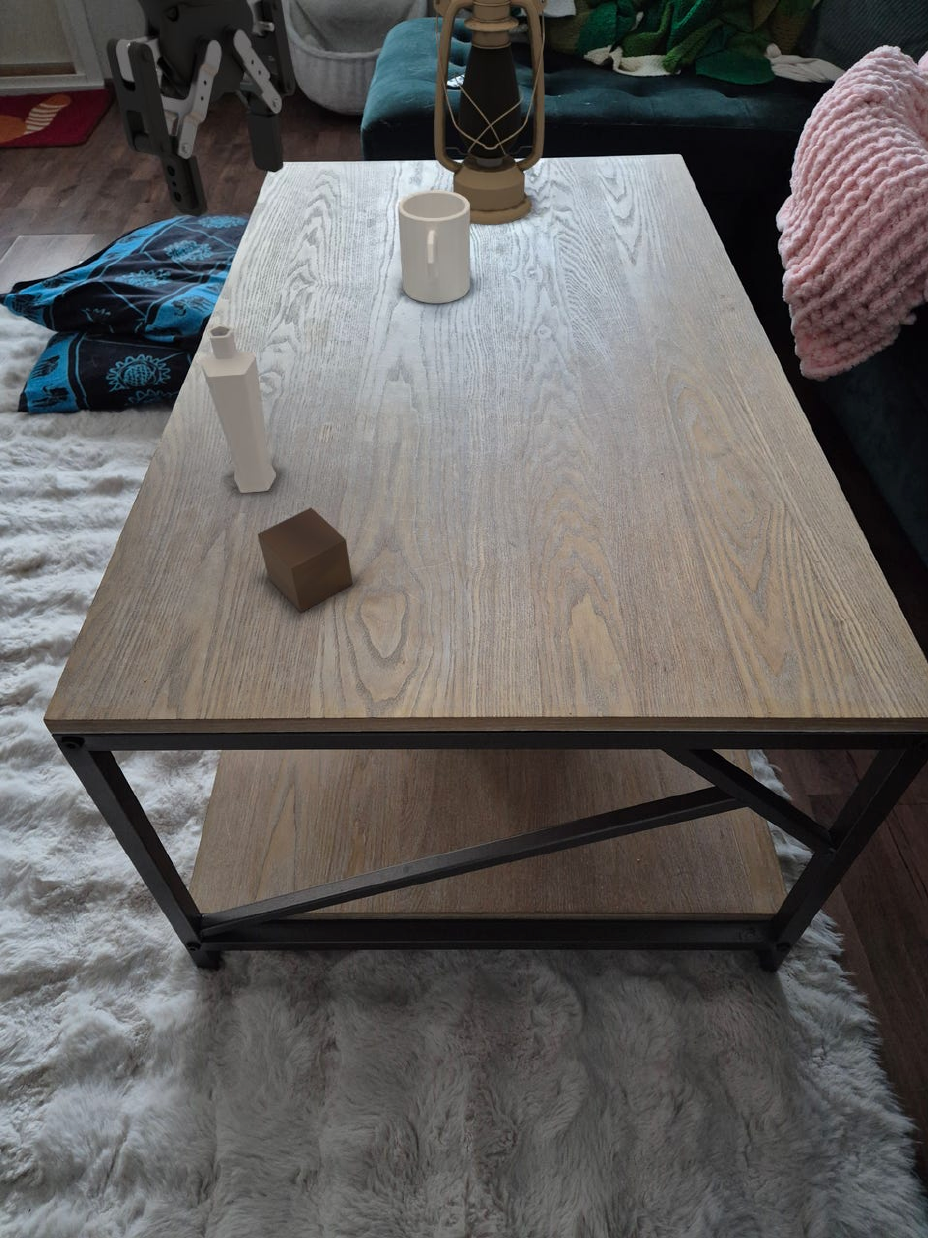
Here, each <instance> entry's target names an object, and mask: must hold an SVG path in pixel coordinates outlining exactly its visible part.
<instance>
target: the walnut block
mask: <svg viewBox="0 0 928 1238" xmlns="http://www.w3.org/2000/svg"><path fill="white" fill-rule="evenodd" d="M257 537H258V541H259V546H260V549H261V553H262V558H263V563H264V566H265V570H266V574H267V579H268V580H269V581H270V582H271V583H272V584H273V585H274V586H275V587H276V588H277V589H278V590H279V591H280V592H281V594H282V595H284V597H285V598H286V599H287V600H288V601H289V602H290V603H291V604H292V605H293V606H294V607H295V609H297V610H298V611H299V612H300V613H304V611H307V610H308V609H310V608H312V607H314V606H316V605H318V604H320V603H321V602H323V601H325V600H326V599H328V598H330V597H332V596H334V595H335V594H337V593H339V592H341V591H342V590H344V589H346V588H349V587H350V586H351V585H353V578H352V577H353V576H352V571H351V565H350V557H349V551H348V544H347V539H346V538H345V537H344V536H343V535H342V534H341V533H340V532H338V530H336V529H335V528H334V527H333V526H332V525H331V524H330V523H329V522H328V521H327V520H325V518H323V517H322V516H321V515H320V514H319V513H318V512H317V511H316V509H314V508H312V507H309V508H307V509H305V510H302V511H301V512H298V513H296V514H295V515H293V516H291V517H289V518H287V519H285V520H283V521H281V522H279V523H277V524H275V525H273V526H271V527H269V528H266V529H264V530H263V531H260V532H259V533H257Z"/></svg>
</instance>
